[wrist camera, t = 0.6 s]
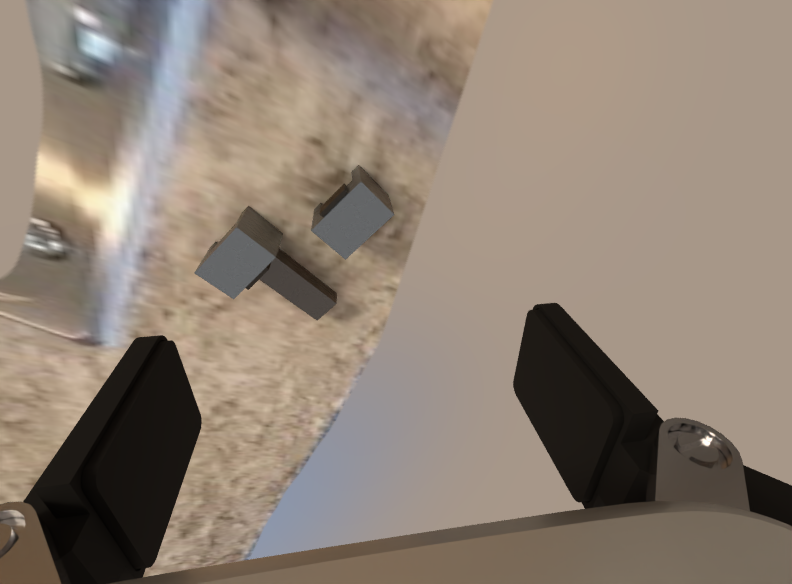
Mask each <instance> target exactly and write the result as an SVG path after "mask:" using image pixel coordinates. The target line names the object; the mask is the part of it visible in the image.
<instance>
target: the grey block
mask: <svg viewBox="0 0 792 584" xmlns="http://www.w3.org/2000/svg"><path fill="white" fill-rule="evenodd" d="M393 215H394V212H393V209H392V205H391V202H390V199H389V196H388V194H387V193H386V192H385V191H384V190H383V189H382V188H381V187H380V186H379V185H378V184H377V183H376V182H375V181H374V180H373V179H372V178H371V177H370V176H369V175H368V174H367V173H366V172H365V171H364V170H363V169H362V168H361V167H360V166H359V165H358V166H357V167H356V168H355V169H354V170H353V171H352V181H351V182H350V183H349V184H348V185H347V186H346V185H345V184H343V185H342V186H341V187H340V188H339V189H338V190H337V191H336V192H335V193H334V194H333V195H332V196H331V197H330V198H329V199H328V200H327V201H326V202H325V203H324V204H323V205H322V204H321V203H320V204H319V205H318V206H317V207H316V208H315V209H314V215H313V221H312V228H311V231H312V232H313V233H315V234H316V235H317V236H318V237H319V238H320V239H322V240H323V241H324V242H325V243H326V244H328V245H329V246H330V247H331V248H332V249H333V250H335V251H336V252H337V253H338V254H339V255H341V256H342V257H343V258H344V259H345V260H346V259H347V258H348V257H349V256H350V255H351V254H352V253H353V252H354V251H355V250H356V249H357V248H359V247H360V246H361V245H362V244H363V243H364V242H365V241H366V240H367V239H368V238H369V237H371V236H372V235H373V234H374V233H375V232H376V231H377V230H378V229H379V228H380V227H381V226H382V225H384V224H385V223H386V222H387V221H388V220H389V219H390V218H391V217H392V216H393Z"/></svg>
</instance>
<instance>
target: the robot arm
mask: <svg viewBox="0 0 792 584" xmlns="http://www.w3.org/2000/svg"><path fill="white" fill-rule="evenodd" d="M513 387H514V391H515V394H516V396H517V397H518V399H519V401H520V403H521V405H522V407H523V409H524V410H525V412H526V414H527V416H528V417H529V419H530V421H531V423H532V425H533V426H534V428H535V430H536V432H537V434H538V435H539V437H540V439H541V441H542V442H543V444H544V446H545V448H546V450H547V452H548V453H549V455H550V457H551V459H552V461H553V462H554V464H555V466H556V468H557V470H558V471H559V473H560V475H561V477H562V479H563V480H564V482H565V484H566V486H567V488H568V489H569V491H570V493H571V495H572V496H573V498H574V499H575V500H576V501H577V502H582V504H583V506H584V508H585V509H580V510H573V511H565V512H558V513H552V514H545V515H538V516H532V517H525V518H518V519H511V520H504V521H497V522H491V523H484V524H477V525H470V526H464V527H457V528H450V529H444V530H437V531H431V532H424V533H417V534H411V535H404V536H398V537H391V538H385V539H378V540H372V541H365V542H359V543H352V544H346V545H339V546H334V547H326V548H320V549H314V550H308V551H301V552H295V553H288V554H282V555H276V556H269V557H263V558H257V559H250V560H244V561H238V562H232V563H225V564H219V565H213V566H206V567H200V568H194V569H188V570H183V571H177V572H171V573H166V574H160V575H154V576H149V577H143V575H144V572H145V569H146V568H149V567H151V566H152V565H153V564H154V562H155V560H156V558H157V555H158V552H159V549H160V546H161V543H162V540H163V537H164V535H165V532H166V529H167V526H168V523H169V520H170V517H171V514H172V511H173V508H174V505H175V503H176V500H177V497H178V494H179V491H180V488H181V485H182V482H183V479H184V476H185V473H186V470H187V468H188V465H189V462H190V459H191V456H192V453H193V450H194V447H195V444H196V441H197V438H198V436H199V433H200V429H201V414H200V412H199V409H198V406H197V403H196V400H195V398H194V395H193V392H192V389H191V386H190V384H189V381H188V378H187V375H186V373H185V370H184V367H183V364H182V361H181V359H180V356H179V353H178V350H177V347H176V345H175V343H174V342H173V341H168V340H167V338H166V337H165V336H162V335H161V336H149V337H139V338H136V339H135V340H134V341H133V343H132V344H131V346H130V347H129V349H128V350H127V351H126V353H125V354H124V356H123V357H122V359H121V360H120V362H119V363H118V365H117V366H116V367H115V369H114V370H113V372H112V373H111V375H110V376H109V378H108V379H107V381H106V382H105V383H104V385H103V386H102V388H101V389H100V391H99V392H98V394H97V395H96V397H95V398H94V399H93V401H92V402H91V404H90V405H89V407H88V408H87V410H86V411H85V413H84V414H83V415H82V417H81V418H80V420H79V421H78V423H77V424H76V426H75V427H74V429H73V430H72V431H71V433H70V434H69V436H68V437H67V439H66V440H65V442H64V443H63V445H62V446H61V448H60V449H59V450H58V452H57V453H56V455H55V456H54V458H53V459H52V461H51V462H50V464H49V465H48V466H47V468H46V469H45V471H44V472H43V474H42V475H41V477H40V478H39V480H38V481H37V482H36V484H35V485H34V487H33V488H32V490H31V491H30V493H29V494H28V496H27V497H26V499H25V500H24V501H23V502H7V503H4V504H0V584H792V486H791V485H789V484H787V483H784V482H782V481H780V480H777V479H775V478H772V477H770V476H768V475H765V474H763V473H761V472H758V471H756V470H754V469H751V468H749V467H746V466H744V465H743V462H742V459H741V456H740V453H739V451H738V450H737V449H736V447H735V446H734V445H733V444H732V442H730V441H729V440H728V439H727V438H726V437H725V436H724V435H722V434H721V433H719V432H718V431H716V430H715V429H713V428H711V427H709V426H707V425H705V424H702V423H700V422H698V421H694V420H690V419H686V418H672V419H668V420H666V421H665V422H664V421H663V420H662V419H661V418H660V417H659V416H658V415H657V413H658V410H657V409H656V408H655V407H654V406H653V405H652V404H651V402H650V401H649V400H648V399H647V398H645V396H644V395H643V394H642V393H641V392H640V391H639V389H638V388H637V387H636V386H635V385H634V384H633V383H632V382H631V381H630V380H629V379H628V378H627V377H626V376H625V375H624V373H623V372H622V371H621V370H620V369H619V368H618V367H617V366H616V365H615V364H614V363H613V362H612V361H611V360H610V358H608V356H607V355H606V354H605V353H604V352H603V351H602V350H601V349H600V348H599V347H598V346H597V345H596V343H595V342H593V340H592V339H591V338H590V337H589V336H588V335H587V334H586V333H585V332H584V331H583V330H582V329H581V328H580V326H579V325H578V324H577V323H576V322H575V321H574V320H573V319H572V318H571V317H570V316H569V315H568V314H567V313H566V311H565V310H564V309H563V308H562V307H561V306H560V305H559V304H557V303H550V304H537V305H535V306H534V307H533V310H530V311H529V312H528V313H527V317H526V322H525V327H524V332H523V337H522V342H521V347H520V351H519V356H518V361H517V366H516V372H515V376H514V381H513ZM142 577H143V578H142Z"/></svg>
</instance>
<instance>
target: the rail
mask: <svg viewBox="0 0 792 584" xmlns="http://www.w3.org/2000/svg"><path fill="white" fill-rule="evenodd" d="M282 235H283V233H281V232H280V231H279V230H278V229H276V228H275V227H274V226H273V225H271V224H270V223H269V222H268V221H266V220H265V219H264V218H263V217H262V216H260V215H259V214H258V213H257V212H255V211H254V210H253V209H252V208H250V207H249V206H248V207H247V208H246V209H245V210H244V211H243V212H242V214H241V216H240V218H239V219H238V221H237V223H236V224H235V225H234V226H233V227H232V228H231V229H230V230H229V232H228V233H227V234H226V235H225V236H224V237H223V238H222V239H221V240H220V241H219V242H218V243H217V242H215V243H214V244H213V245H212V246H211V247H210V248H209V250H208V252H207V253H206V255H205V256H204V258H203V260H202V261H201V263H200V264H199V266H198V268H197V269H196V271H195V272H194V273H195V274H196V275H198V276H199V277H201V278H202V279H204V280H205V281H207V282H208V283H210V284H211V285H213V286H215V287H216V288H218V289H219V290H221V291H222V292H224V293H225V294H227V295H228V296H230V297H231V298H233V299H234V298H236V297H237V296H238V295H239V294H240V293H241V292H242V291H243V290H244V289H245V288H246V289H248V290H249V289H250V288H251V287H252V286H253V285H254V284H255V283H256V282H257V281H258V280H259V279H260V280H261V281H262V282H264V283H265V284H267V285H268V286H269V287H271V288H272V289H274V290H275V291H276V292H278V293H279V294H281V295H282V296H283V297H285V298H286V299H288V300H289V301H290V302H292V303H293V304H295V305H296V306H297V307H299V308H300V309H302V310H303V311H304V312H306V313H307V314H309V315H310V316H311V317H313V318H314V319H316V320H318V319H320V318H321V317H322V316H323V315H324V314H325V313H326V312H327V311H329V310H330V309H331V308H332V307H333V306H334V305H335V304H336V301H337V293H336V292H334V291H333V290H332V289H330V288H329V287H328V286H327V285H325V284H324V283H323V282H321V281H320V280H319V279H318V278H316V277H315V276H314V275H313V274H311V273H310V272H309V271H307V270H306V269H305V268H304V267H302V266H301V265H300V264H298V263H297V262H296V261H295V260H293V259H292V258H291V257H289V256H288V255H287V254H286V253H284V252H283V251H282V250H280V249H279V245H280V242H281V238H282Z"/></svg>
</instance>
